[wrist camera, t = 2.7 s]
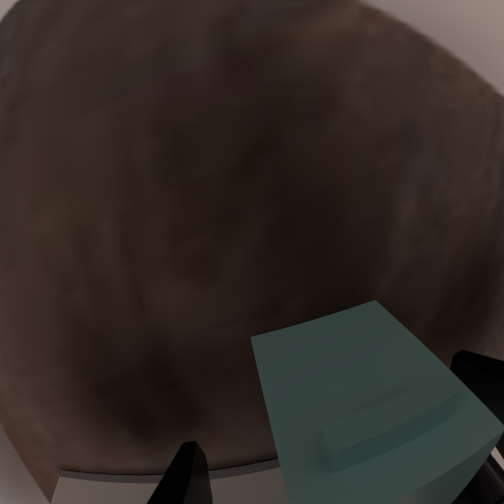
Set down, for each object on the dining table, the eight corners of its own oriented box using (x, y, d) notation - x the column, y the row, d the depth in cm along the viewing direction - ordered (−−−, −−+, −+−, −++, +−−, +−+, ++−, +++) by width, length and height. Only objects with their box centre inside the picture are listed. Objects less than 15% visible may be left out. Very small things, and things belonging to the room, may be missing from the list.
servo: (373, 277, 8) (545, 427, 2) (372, 420, 10) (439, 538, 4) (244, 315, 8) (304, 569, 2) (283, 449, 10) (322, 587, 4)
